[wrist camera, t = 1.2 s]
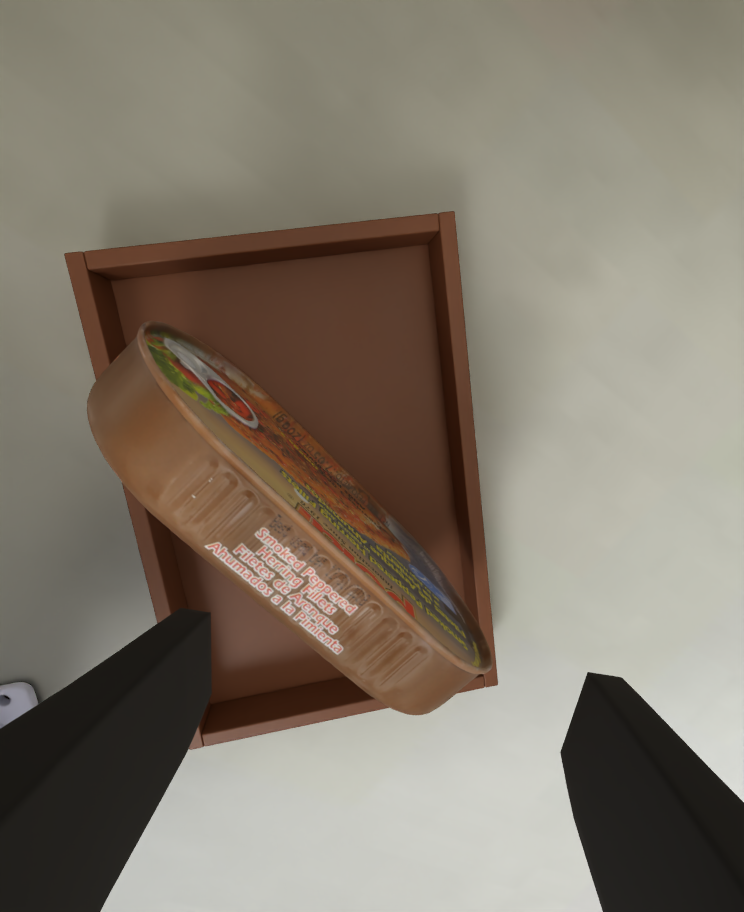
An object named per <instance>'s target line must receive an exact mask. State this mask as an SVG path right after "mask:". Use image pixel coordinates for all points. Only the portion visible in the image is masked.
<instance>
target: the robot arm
mask: <svg viewBox="0 0 744 912" xmlns="http://www.w3.org/2000/svg"><path fill="white" fill-rule="evenodd" d="M211 694H212V671H211V612H204V611H198V610H192V609H185V608H180V609H178V610H177V611H175V612H174V613H172V614H171V615H169V616H168V617H166V618H165V619H163V620H162V621H161V622H159V623H158V624H156V625H155V626H153V627H152V628H151V629H149V630H148V631H146V632H145V633H143V634H142V635H141V636H139V637H138V638H136V639H135V640H134V641H132V642H131V643H129V644H128V645H126V646H125V647H124V648H122V649H121V650H119V651H118V652H116V653H115V654H114V655H112V656H111V657H109V658H108V659H106V660H105V661H103V662H102V663H100V664H99V665H97V666H96V667H95V668H93V669H92V670H90V671H89V672H87V673H86V674H84V675H83V676H81V677H80V678H78V679H77V680H75V681H74V682H72V683H71V684H70V685H68V686H67V687H65V688H63V689H62V690H60V691H59V692H57V693H56V694H54V695H52V696H51V697H49V698H48V699H46V700H45V701H43V702H41V703H40V704H38V700H37V697H36V694H35V691H34V689H33V687H32V686H31V685H30V684H28V683H25V682H16V683H11V684H6V685H1V686H0V912H100V911H101V909H102V907H103V905H104V903H105V901H106V899H107V897H108V895H109V893H110V892H111V890H112V888H113V886H114V884H115V882H116V881H117V879H118V877H119V875H120V873H121V872H122V870H123V868H124V866H125V864H126V862H127V861H128V859H129V857H130V855H131V853H132V852H133V850H134V848H135V846H136V844H137V843H138V841H139V839H140V837H141V835H142V833H143V832H144V830H145V828H146V826H147V824H148V823H149V821H150V819H151V817H152V815H153V813H154V812H155V810H156V808H157V806H158V804H159V803H160V801H161V799H162V797H163V795H164V793H165V792H166V790H167V788H168V786H169V784H170V782H171V781H172V779H173V777H174V775H175V773H176V771H177V770H178V768H179V766H180V764H181V762H182V760H183V758H184V756H185V755H186V753H187V751H188V749H189V747H190V744H191V742H192V740H193V737H194V735H195V733H196V730H197V728H198V726H199V724H200V721H201V719H202V716H203V714H204V711H205V709H206V706H207V704H208V702H209V699H210V697H211ZM3 695H6V696H8V697H9V698H10V699H6V698H5V697H4V696H3ZM561 758H562V763H563V768H564V773H565V779H566V784H567V789H568V793H569V798H570V803H571V807H572V812H573V817H574V820H575V823H576V827H577V830H578V833H579V837H580V840H581V843H582V846H583V850H584V853H585V856H586V859H587V862H588V866H589V869H590V872H591V875H592V878H593V882H594V885H595V888H596V891H597V894H598V897H599V901H600V904H601V907H602V910H603V912H744V802H743V801H742V800H741V799H740V798H739V797H738V796H737V795H736V794H735V793H734V792H733V791H732V790H731V789H730V788H729V787H728V786H727V785H726V784H725V783H724V782H723V781H722V780H721V779H720V778H719V777H718V776H717V775H716V774H715V773H714V772H713V771H712V770H711V769H710V768H709V767H708V766H707V765H706V764H705V763H704V762H703V761H702V760H701V759H700V758H699V757H698V756H697V754H696V753H695V752H694V751H693V750H692V749H691V748H690V747H689V746H688V745H687V744H686V743H685V742H684V741H683V740H682V739H681V738H680V737H679V736H678V735H677V734H676V733H675V732H674V731H673V729H672V728H671V727H670V726H669V725H668V724H667V723H666V722H665V721H664V720H663V719H662V718H661V717H660V716H659V715H658V714H657V713H656V712H655V711H654V710H653V709H652V708H651V707H650V706H649V705H648V703H647V702H646V701H645V700H644V699H643V698H642V697H641V696H640V695H639V694H638V693H637V692H636V691H635V690H634V689H633V688H632V687H631V686H630V685H629V684H628V683H627V682H626V681H625V680H624V679H623V678H621V677H615V676H609V675H602V674H596V673H590V672H588V673H587V676H586V679H585V682H584V685H583V688H582V691H581V694H580V697H579V699H578V702H577V705H576V708H575V711H574V714H573V717H572V720H571V723H570V726H569V729H568V732H567V735H566V738H565V741H564V743H563V746H562V749H561Z"/></svg>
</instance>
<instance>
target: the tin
mask: <svg viewBox="0 0 744 912" xmlns="http://www.w3.org/2000/svg"><path fill="white" fill-rule="evenodd" d="M87 414H88V420H89V424H90V427H91V431H92V434H93V436H94V439H95V441H96V443H97V445H98V447H99V449H100V450H101V452H102V454H103V456H104V458H105V459H106V461H107V462H108V464H109V465H110V466H111V468H112V469H113V471H114V472H115V473H116V475H117V476H118V477H119V479H120V480H121V481H122V483H123V484H124V485H125V486H126V487H127V488H128V490H129V491H130V492H131V493H132V494H133V495H134V496H135V497H136V499H137V500H138V501H139V502H140V503H141V504H142V505H143V506H144V507H145V508H146V509H147V510H148V511H149V512H150V513H151V514H152V515H153V516H155V517H156V518H157V519H158V520H159V521H161V522H162V523H163V524H164V525H165V526H166V527H168V528H169V529H170V530H171V531H172V532H173V533H174V534H176V535H177V536H178V537H179V538H180V539H181V540H183V541H184V542H185V543H187V544H188V545H189V546H190V547H191V548H192V549H194V550H195V551H196V552H197V553H198V554H199V555H200V556H202V557H203V558H204V559H205V560H206V561H208V562H209V563H210V564H211V565H213V566H214V567H215V568H216V569H217V570H219V571H220V572H221V573H222V574H223V575H224V576H226V577H227V578H228V579H229V580H231V581H232V582H233V583H234V584H235V585H237V586H238V587H239V588H240V589H241V590H242V591H243V592H244V593H246V594H247V595H248V596H250V597H251V598H252V599H253V600H254V601H255V602H256V603H257V604H259V605H260V606H261V607H263V608H264V609H265V610H266V611H268V612H269V613H270V614H271V615H272V616H273V617H275V618H276V619H277V620H278V621H279V622H281V623H282V624H283V625H284V626H286V627H287V628H288V629H289V630H291V631H292V632H293V633H294V634H295V635H297V636H298V637H299V638H300V639H302V640H303V641H304V642H305V643H306V644H307V645H309V646H310V647H311V648H312V649H314V650H315V651H316V652H317V653H319V654H320V655H321V656H322V657H323V658H324V659H325V660H327V661H328V662H330V663H331V664H332V665H333V666H334V667H335V668H337V669H338V670H339V671H340V672H342V673H343V674H344V675H345V676H346V677H348V678H349V679H350V680H351V681H352V682H354V683H355V684H356V685H357V686H358V687H360V688H361V689H362V690H363V691H365V692H366V693H367V694H369V695H370V696H371V697H373V698H375V699H376V700H378V701H379V702H381V703H383V704H384V705H386V706H388V707H390V708H392V709H394V710H396V711H399V712H402V713H405V714H409V715H423V714H427V713H430V712H431V711H433V710H435V709H437V708H438V707H440V706H441V705H442V704H444V703H445V702H446V701H448V700H449V699H450V698H451V697H453V696H454V695H455V694H456V693H457V692H459V691H460V690H461V689H462V688H463V687H464V686H466V685H467V684H468V683H469V682H470V681H472V680H473V679H474V678H475V677H476V676H478V675H479V674H484V673H487V672H488V671H490V670H491V668H492V665H493V659H492V653H491V650H490V648H489V645H488V643H487V640H486V638H485V636H484V634H483V632H482V630H481V628H480V627H479V625H478V623H477V621H476V620H475V618H474V616H473V615H472V613H471V612H470V610H469V609H468V607H467V605H466V604H465V603H464V601H463V600H462V598H461V597H460V595H459V594H458V593H457V591H456V590H455V589H454V587H453V585H452V584H451V583H450V581H449V580H448V579H447V577H446V576H445V574H444V573H443V572H442V570H441V569H440V568H439V566H438V565H437V564H436V562H435V561H434V560H433V559H432V558H431V556H430V555H429V554H428V553H427V552H426V551H425V549H424V548H423V547H422V546H421V545H420V544H419V543H418V542H417V540H416V539H415V538H414V537H413V536H412V535H411V534H410V533H409V532H408V531H407V530H406V529H405V528H404V527H403V526H402V525H401V524H400V523H399V522H398V521H397V520H396V518H395V517H394V516H393V515H391V514H390V513H389V512H388V511H387V510H386V509H385V508H384V507H383V506H382V505H381V504H380V503H379V502H378V501H377V500H376V499H375V498H374V497H373V496H372V495H371V494H370V493H369V492H368V491H367V490H366V489H365V488H364V487H363V486H362V485H361V484H360V483H359V482H358V481H357V480H356V479H355V478H354V477H353V476H352V475H351V474H350V473H349V472H348V471H347V470H346V469H345V468H344V467H343V466H341V465H340V464H339V463H338V462H337V461H336V460H335V459H334V458H333V457H332V456H331V455H330V454H329V453H328V452H327V451H326V450H325V449H324V448H323V447H322V446H321V445H320V444H319V443H318V442H317V441H316V440H315V439H314V438H313V437H312V436H311V435H310V434H309V433H308V432H307V431H306V430H305V429H304V428H303V427H302V426H301V425H300V424H299V423H298V422H297V421H296V420H295V419H294V418H293V417H292V416H291V415H290V414H289V413H288V412H287V411H286V410H285V409H284V408H283V407H282V406H281V405H280V404H278V403H277V402H276V401H275V400H274V399H273V398H272V397H271V396H270V395H269V394H268V393H267V392H266V391H265V390H263V389H262V388H261V387H260V386H259V385H258V384H256V383H255V382H254V381H253V380H252V379H251V378H250V377H248V376H247V375H246V374H245V373H244V372H242V371H241V370H240V369H239V368H238V367H236V366H235V365H234V364H233V363H231V362H230V361H229V360H228V359H226V358H225V357H223V356H222V355H221V354H220V353H218V352H216V351H215V350H213V349H212V348H211V347H209V346H208V345H206V344H204V343H203V342H201V341H199V340H198V339H196V338H195V337H193V336H191V335H189V334H188V333H186V332H184V331H181V330H179V329H177V328H175V327H173V326H171V325H169V324H166V323H163V322H159V321H148V322H145V323H143V324H142V325H141V326H140V328H139V330H138V334H137V337H136V338H135V339H134V340H133V341H132V342H131V343H130V344H129V345H128V346H127V347H126V348H125V349H124V350H123V351H122V353H121V354H120V355H119V356H118V357H117V358H116V359H115V360H114V361H113V362H112V363H111V364H110V365H109V367H108V368H107V369H106V370H105V371H104V372H103V373H102V374H101V376H100V377H99V378H98V380H97V381H96V382H95V383H94V385H93V387H92V389H91V391H90V393H89V397H88V401H87Z"/></svg>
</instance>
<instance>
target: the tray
mask: <svg viewBox="0 0 744 912" xmlns="http://www.w3.org/2000/svg"><path fill="white" fill-rule="evenodd" d="M64 255H65V259H66V263H67V267H68V271H69V275H70V279H71V283H72V287H73V291H74V295H75V299H76V303H77V307H78V311H79V315H80V318H81V322H82V326H83V330H84V334H85V338H86V342H87V346H88V350H89V354H90V358H91V362H92V366H93V370H94V374H95V378H96V381H97V380H98V378H99V377H100V376H101V374H102V373H103V372H104V371H105V370H106V369H107V368H108V367H109V365H110V364H111V363H112V362H113V361H114V360H115V359H116V358H117V357H118V356H119V355H120V354H121V353H122V351H123V350H124V349H125V348H126V347H127V346H128V345H129V344H130V343H131V342H132V341H133V340H134V339H135V338H136V337H137V334H138V330H139V328H140V326H141V325H142V324H143V323H145V322H148V321H159V322H163V323H166V324H169V325H171V326H173V327H175V328H177V329H179V330H181V331H184V332H186V333H188V334H189V335H191V336H193V337H195V338H196V339H198V340H199V341H201V342H203V343H204V344H206V345H208V346H209V347H211V348H212V349H213V350H215V351H216V352H218V353H220V354H221V355H222V356H223V357H225V358H226V359H228V360H229V361H230V362H231V363H233V364H234V365H235V366H236V367H238V368H239V369H240V370H241V371H242V372H244V373H245V374H246V375H247V376H248V377H250V378H251V379H252V380H253V381H254V382H255V383H256V384H258V385H259V386H260V387H261V388H262V389H263V390H265V391H266V392H267V393H268V394H269V395H270V396H271V397H272V398H273V399H274V400H275V401H276V402H277V403H278V404H280V405H281V406H282V407H283V408H284V409H285V410H286V411H287V412H288V413H289V414H290V415H291V416H292V417H293V418H294V419H295V420H296V421H297V422H298V423H299V424H300V425H301V426H302V427H303V428H304V429H305V430H306V431H307V432H308V433H309V434H310V435H311V436H312V437H313V438H314V439H315V440H316V441H317V442H318V443H319V444H320V445H321V446H322V447H323V448H324V449H325V450H326V451H327V452H328V453H329V454H330V455H331V456H332V457H333V458H334V459H335V460H336V461H337V462H338V463H339V464H340V465H341V466H343V467H344V468H345V469H346V470H347V471H348V472H349V473H350V474H351V475H352V476H353V477H354V478H355V479H356V480H357V481H358V482H359V483H360V484H361V485H362V486H363V487H364V488H365V489H366V490H367V491H368V492H369V493H370V494H371V495H372V496H373V497H374V498H375V499H376V500H377V501H378V502H379V503H380V504H381V505H382V506H383V507H384V508H385V509H386V510H387V511H388V512H389V513H390V514H391V515H393V516H394V517H395V518H396V520H397V521H398V522H399V523H400V524H401V525H402V526H403V527H404V528H405V529H406V530H407V531H408V532H409V533H410V534H411V535H412V536H413V537H414V538H415V539H416V540H417V542H418V543H419V544H420V545H421V546H422V547H423V548H424V549H425V551H426V552H427V553H428V554H429V555H430V556H431V558H432V559H433V560H434V561H435V562H436V564H437V565H438V566H439V568H440V569H441V570H442V572H443V573H444V574H445V576H446V577H447V579H448V580H449V581H450V583H451V584H452V585H453V587H454V589H455V590H456V591H457V593H458V594H459V595H460V597H461V598H462V600H463V601H464V603H465V604H466V605H467V607H468V609H469V610H470V612H471V613H472V615H473V616H474V618H475V620H476V621H477V623H478V625H479V627H480V628H481V630H482V632H483V634H484V636H485V638H486V640H487V643H488V645H489V648H490V650H491V653H492V659H493V665H492V668H491V670H490V671H488V672H487V673H484V674H479V675H478V676H476V677H475V678H474V679H473V680H472V681H470V682H469V683H468V684H467V685H466V686H464V687H463V688H462V689H461V690H460V691H459V692H457V693H461V692H466V691H471V690H475V689H480V688H484V686H485V687H490V686H495V685H498V680H497V669H496V658H495V647H494V636H493V625H492V614H491V603H490V592H489V582H488V571H487V560H486V549H485V538H484V527H483V516H482V505H481V494H480V483H479V473H478V462H477V451H476V440H475V429H474V418H473V407H472V396H471V385H470V374H469V364H468V353H467V342H466V331H465V320H464V309H463V298H462V287H461V276H460V265H459V255H458V244H457V233H456V222H455V212H454V211H451V212H442V213H439V214H437V213H434V214H425V215H415V216H406V217H397V218H388V219H378V220H369V221H360V222H351V223H341V224H332V225H323V226H314V227H304V228H295V229H286V230H277V231H268V232H258V233H249V234H240V235H231V236H221V237H212V238H203V239H194V240H184V241H175V242H166V243H157V244H147V245H138V246H129V247H120V248H110V249H101V250H92V251H85V252H72V253H65V254H64ZM122 485H123V489H124V493H125V496H126V500H127V504H128V508H129V512H130V516H131V520H132V524H133V528H134V532H135V536H136V540H137V544H138V548H139V552H140V556H141V560H142V564H143V568H144V572H145V576H146V580H147V583H148V587H149V591H150V595H151V599H152V603H153V607H154V611H155V615H156V619H157V623H159V622H161V621H162V620H163V619H165V618H166V617H168V616H169V615H171V614H172V613H174V612H175V611H177V610H178V609H180V608H185V609H192V610H198V611H204V612H211V671H212V694H211V697H210V699H209V702H208V704H207V706H206V709H205V711H204V714H203V716H202V719H201V721H200V724H199V726H198V728H197V730H196V733H195V735H194V737H193V740H192V742H191V744H190V747H189V749H190V750H191V749H196V748H201V747H204V746H209V745H214V744H219V743H224V742H228V741H233V740H238V739H243V738H247V737H252V736H257V735H262V734H266V733H271V732H276V731H281V730H285V729H290V728H295V727H300V726H304V725H309V724H314V723H319V722H323V721H328V720H333V719H338V718H342V717H347V716H352V715H357V714H361V713H366V712H371V711H376V710H380V709H385V708H390V707H388V706H386V705H384V704H383V703H381V702H379V701H378V700H376V699H375V698H373V697H371V696H370V695H369V694H367V693H366V692H365V691H363V690H362V689H361V688H360V687H358V686H357V685H356V684H355V683H354V682H352V681H351V680H350V679H349V678H348V677H346V676H345V675H344V674H343V673H342V672H340V671H339V670H338V669H337V668H335V667H334V666H333V665H332V664H331V663H330V662H328V661H327V660H325V659H324V658H323V657H322V656H321V655H320V654H319V653H317V652H316V651H315V650H314V649H312V648H311V647H310V646H309V645H307V644H306V643H305V642H304V641H303V640H302V639H300V638H299V637H298V636H297V635H295V634H294V633H293V632H292V631H291V630H289V629H288V628H287V627H286V626H284V625H283V624H282V623H281V622H279V621H278V620H277V619H276V618H275V617H273V616H272V615H271V614H270V613H269V612H268V611H266V610H265V609H264V608H263V607H261V606H260V605H259V604H257V603H256V602H255V601H254V600H253V599H252V598H251V597H250V596H248V595H247V594H246V593H244V592H243V591H242V590H241V589H240V588H239V587H238V586H237V585H235V584H234V583H233V582H232V581H231V580H229V579H228V578H227V577H226V576H224V575H223V574H222V573H221V572H220V571H219V570H217V569H216V568H215V567H214V566H213V565H211V564H210V563H209V562H208V561H206V560H205V559H204V558H203V557H202V556H200V555H199V554H198V553H197V552H196V551H195V550H194V549H192V548H191V547H190V546H189V545H188V544H187V543H185V542H184V541H183V540H181V539H180V538H179V537H178V536H177V535H176V534H174V533H173V532H172V531H171V530H170V529H169V528H168V527H166V526H165V525H164V524H163V523H162V522H161V521H159V520H158V519H157V518H156V517H155V516H153V515H152V514H151V513H150V512H149V511H148V510H147V509H146V508H145V507H144V506H143V505H142V504H141V503H140V502H139V501H138V500H137V499H136V497H135V496H134V495H133V494H132V493H131V492H130V491H129V490H128V488H127V487H126V486H125V485H124V484H123V483H122Z"/></svg>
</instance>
